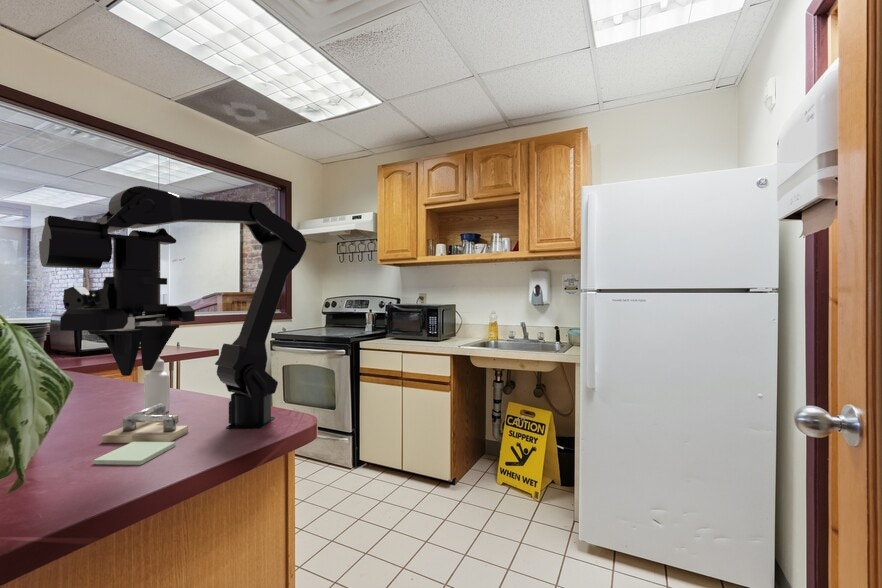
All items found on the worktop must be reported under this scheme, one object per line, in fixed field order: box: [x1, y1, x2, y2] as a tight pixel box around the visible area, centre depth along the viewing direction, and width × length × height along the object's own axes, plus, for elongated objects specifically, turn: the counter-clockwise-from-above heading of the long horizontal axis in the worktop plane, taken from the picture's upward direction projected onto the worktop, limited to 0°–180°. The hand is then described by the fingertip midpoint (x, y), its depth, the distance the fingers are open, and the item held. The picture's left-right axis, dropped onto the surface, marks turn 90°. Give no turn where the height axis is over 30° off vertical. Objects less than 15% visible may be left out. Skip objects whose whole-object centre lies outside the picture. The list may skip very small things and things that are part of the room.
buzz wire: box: [101, 404, 189, 444], centre depth 69 cm, size 11×11×4 cm
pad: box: [93, 441, 176, 466], centre depth 59 cm, size 7×7×1 cm
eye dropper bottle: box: [143, 355, 171, 415], centre depth 81 cm, size 4×6×12 cm
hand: (137, 372), depth 59 cm, fingers open, 4 cm apart
